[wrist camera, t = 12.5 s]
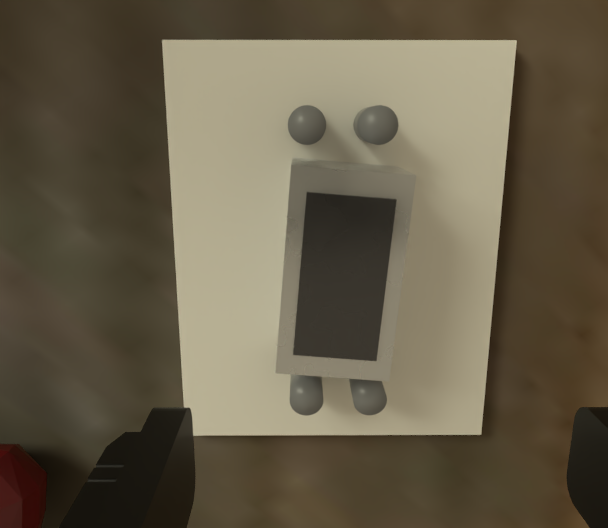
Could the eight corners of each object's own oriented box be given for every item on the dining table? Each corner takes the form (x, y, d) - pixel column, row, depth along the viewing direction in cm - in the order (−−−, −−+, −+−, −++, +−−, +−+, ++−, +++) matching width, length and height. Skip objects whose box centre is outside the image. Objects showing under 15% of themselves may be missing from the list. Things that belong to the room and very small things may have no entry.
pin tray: (189, 425, 31) (173, 469, 27) (167, 42, 26) (143, 29, 22) (475, 424, 31) (500, 468, 27) (508, 43, 26) (545, 29, 22)
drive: (279, 334, 29) (275, 375, 24) (292, 157, 26) (290, 165, 22) (375, 341, 29) (389, 383, 24) (397, 166, 26) (417, 175, 22)
